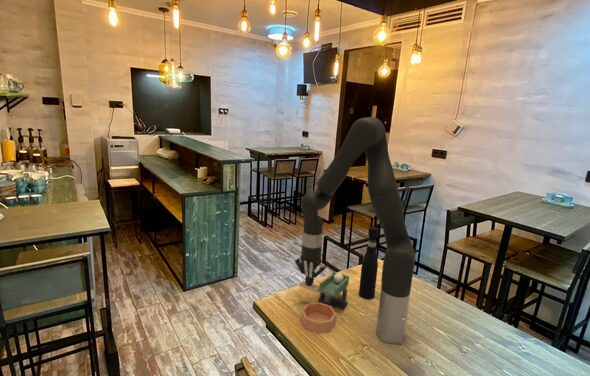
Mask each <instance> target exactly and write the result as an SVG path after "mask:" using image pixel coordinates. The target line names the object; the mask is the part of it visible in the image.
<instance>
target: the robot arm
mask: <svg viewBox="0 0 590 376" xmlns="http://www.w3.org/2000/svg"><path fill="white" fill-rule="evenodd" d="M363 153H365V156H366V161H367V191H368V196H369V199H370V204H371V206H372V210H373V212H374V214H375V217H376V218H377V220H378V222H379V223H380V226H381V228H382V230H383V233H384V238H385V245H386V251H385V253H384V257H383V262H382V271H381V280H380V281H381V285H380V287H381V288H380V296H379V304H378V311H377V312H378V313H377V318H376V320H377V321H376V326H375V327H376V329H375V333H376V336H377V338H379V339H380V340H381V341H382V342H385V343H386V344H387V343H388V344H396V345H397V344H399V345H403V342H404V338H405V336H406V330H407V323H408V316H409V304H410V303H409V302H410V296H411V290H412V282H413V276H414V269H415V261H416V251H415V249H414V247H413V244H412V241H411V239H410V236H409V233H408V230H407V227H406V222H405V215H404V209H403V204H402V199H401V194H400V189H399V187H398V184H397V181H396V177H395V173H394V170H393V165H392V162H391V158H390V155H389V147H388V141H387V133H386V127H385V126H384V123H383V122H382V121H381V120H380V119H379V118H377V117H373V116H368V117H362V118H359V119H356V121H354V122H353V123H352V125H351V127H350V129H349V131H348V133H347V135H346V137H345V138H344V141H343V143H342V144H341V146H340V149H339V150H338V152H337V154H335V156H334V158H333V159H332V161H331V162H330V163H329V165H328V167H327V168H326V169H325V171H324V172H323V173H322V175H321V176H320V177H319V179H318V181H317V182H316V185H317V186H316V187H317V188H316V189H315V190H314V191H311V192H307V193H306V194H304V195H303V196H302V199H301V203H300V204H301V206H300V207H301V214H302V219H303V232H302V236H301V237H302V238H301V255H300V256H299V257H298V258H296V259H295V260H294V262H295V264H296V265H297V267H298V269H299V272H300V273H301V274H304V276H305V280H304V281H305V283H306V285H308V286H311V285H312V284H314V279H316V278H317V277H318V276H319V275H321V273H323V272H324V271H325V270H326V269H327V265H326V264H325V265H324V264H323V261H322V248H323V228H324V227H323V226H324V225H323V223H324V222H323V218H322V217H321V216H319V214H318V211H320V210H323V209H324V208H325V207H326V206H328V205H329V203H330V201H331V200H332V198H333V195H334V193H335V192H336V190H337V189H338V188H339V187H340V185H341V184H342V183H343V182H344V180H345V179H346V178H347V176H348V174H349V171H350V170H351V167H352V166H353V164H354V163H355V161H356V160H357V159H358V158H359V156H361V155H362V154H363ZM317 268H318V270H317V271H316V269H317Z"/></svg>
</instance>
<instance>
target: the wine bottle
mask: <svg viewBox="0 0 590 376" xmlns="http://www.w3.org/2000/svg"><path fill="white" fill-rule="evenodd" d="M379 230H380V229H379V227H377V226H373V225H372V226H369V227H368V234H367V236H368V237H369V239H368V241H367V245H366V251H365V253H364V255H363V259H362V261H361V268H360V270H361V271H360V278H359V287H358V295H359V297H360V298H362V299H364V300H372V299H375V293H376V285H377V277H378V267H379V262H378V256H377V248H378V247H377V238H378V237H379Z"/></svg>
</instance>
